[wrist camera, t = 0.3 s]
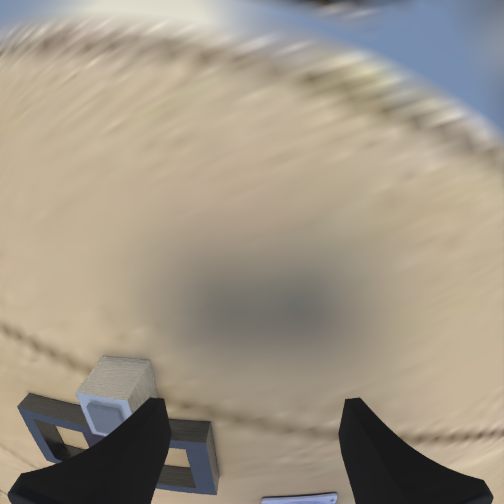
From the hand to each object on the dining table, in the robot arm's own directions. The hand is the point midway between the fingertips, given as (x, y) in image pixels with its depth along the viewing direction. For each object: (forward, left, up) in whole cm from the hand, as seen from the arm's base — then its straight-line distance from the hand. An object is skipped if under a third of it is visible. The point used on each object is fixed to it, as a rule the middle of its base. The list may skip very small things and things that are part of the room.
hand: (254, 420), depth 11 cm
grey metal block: (-6, +10, -10) cm, 15 cm away
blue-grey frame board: (-14, +14, -10) cm, 22 cm away
